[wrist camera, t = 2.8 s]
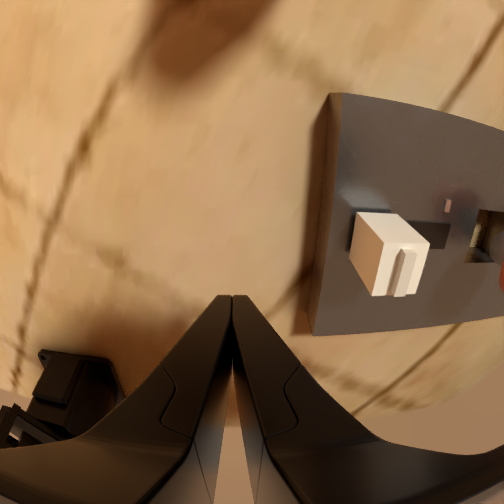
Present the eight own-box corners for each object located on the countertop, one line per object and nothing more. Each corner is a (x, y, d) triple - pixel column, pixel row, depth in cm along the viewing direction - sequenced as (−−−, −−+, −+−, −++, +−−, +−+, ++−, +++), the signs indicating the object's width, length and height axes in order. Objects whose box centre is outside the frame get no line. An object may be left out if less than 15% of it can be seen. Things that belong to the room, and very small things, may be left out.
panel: (525, 295, 19) (539, 309, 17) (306, 313, 18) (313, 337, 16) (565, 158, 14) (584, 167, 12) (329, 93, 13) (343, 92, 11)
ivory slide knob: (387, 257, 14) (419, 299, 11) (348, 258, 14) (374, 302, 11) (396, 213, 13) (435, 248, 10) (356, 211, 13) (388, 248, 10)
